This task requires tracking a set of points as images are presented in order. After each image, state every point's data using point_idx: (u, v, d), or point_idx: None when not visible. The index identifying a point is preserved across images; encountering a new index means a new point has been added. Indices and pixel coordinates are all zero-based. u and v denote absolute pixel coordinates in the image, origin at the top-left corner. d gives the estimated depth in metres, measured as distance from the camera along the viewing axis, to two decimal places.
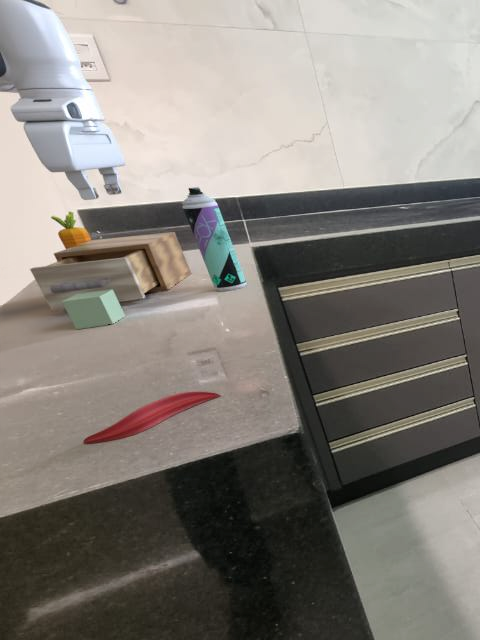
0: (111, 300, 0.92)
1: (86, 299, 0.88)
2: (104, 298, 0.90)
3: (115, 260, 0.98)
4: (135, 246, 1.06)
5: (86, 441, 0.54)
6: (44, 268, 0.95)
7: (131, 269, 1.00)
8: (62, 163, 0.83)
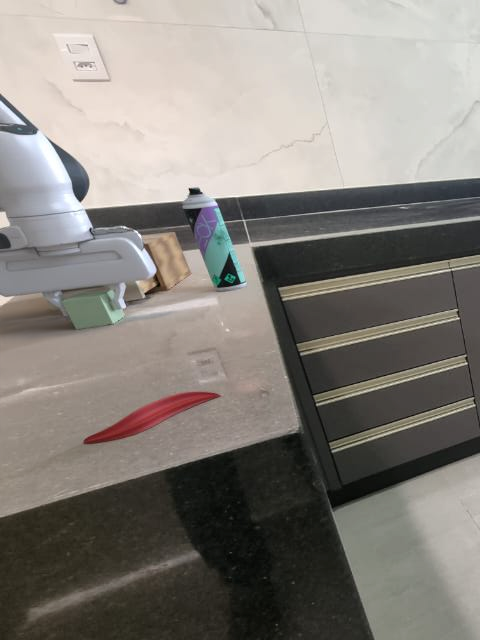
0: None
1: (86, 299, 0.88)
2: (104, 298, 0.90)
3: None
4: None
5: (86, 441, 0.54)
6: None
7: None
8: None
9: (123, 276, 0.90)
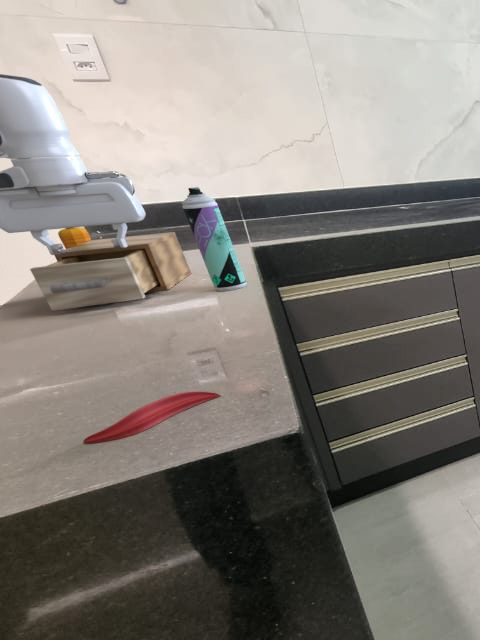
0: None
1: None
2: None
3: (115, 260, 0.98)
4: (135, 246, 1.06)
5: (86, 441, 0.54)
6: (44, 268, 0.95)
7: (131, 269, 1.00)
8: None
9: (115, 217, 0.99)
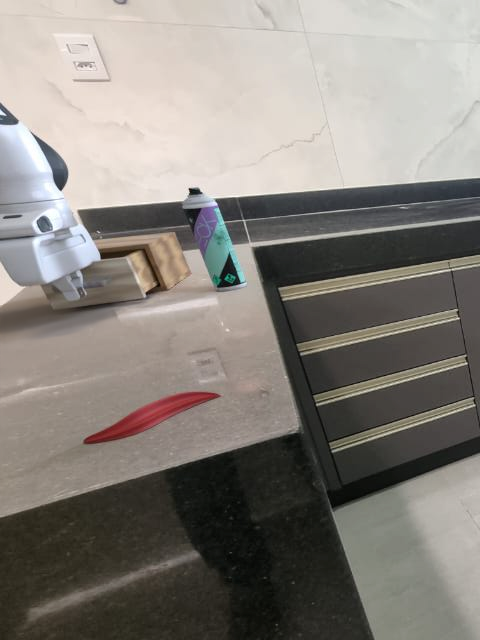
0: None
1: None
2: None
3: (116, 260, 0.99)
4: (135, 246, 1.06)
5: (86, 441, 0.54)
6: None
7: (132, 268, 1.00)
8: (32, 278, 0.83)
9: (92, 258, 0.98)
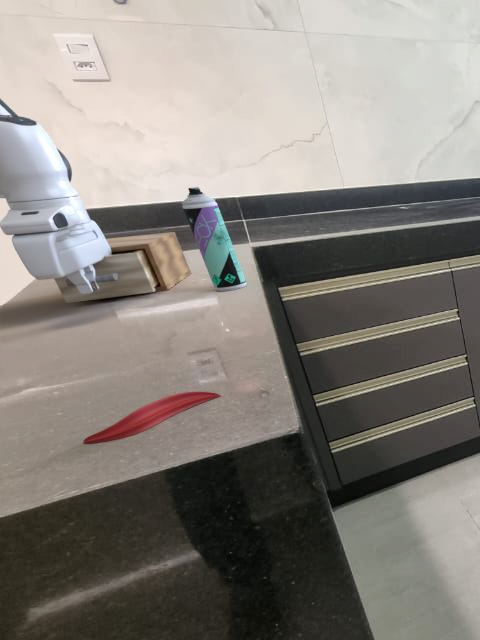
0: None
1: None
2: None
3: (127, 255, 1.03)
4: (135, 246, 1.06)
5: (86, 441, 0.54)
6: None
7: (142, 263, 1.04)
8: (48, 272, 0.87)
9: (104, 253, 1.02)
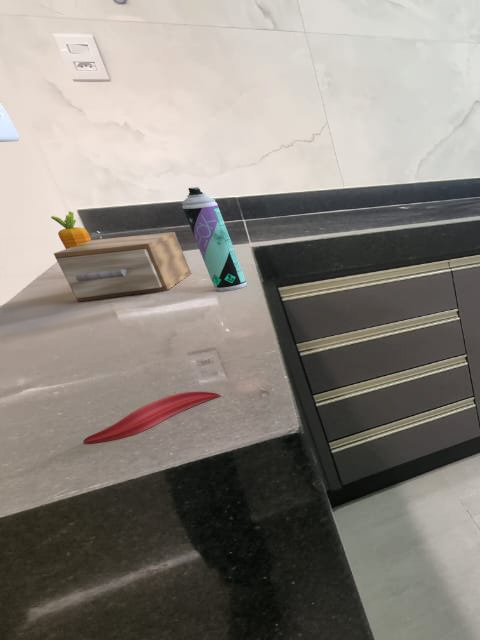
0: None
1: None
2: None
3: (135, 251, 1.06)
4: (135, 246, 1.06)
5: (86, 441, 0.54)
6: (70, 258, 1.02)
7: (149, 260, 1.08)
8: None
9: (8, 134, 0.92)
